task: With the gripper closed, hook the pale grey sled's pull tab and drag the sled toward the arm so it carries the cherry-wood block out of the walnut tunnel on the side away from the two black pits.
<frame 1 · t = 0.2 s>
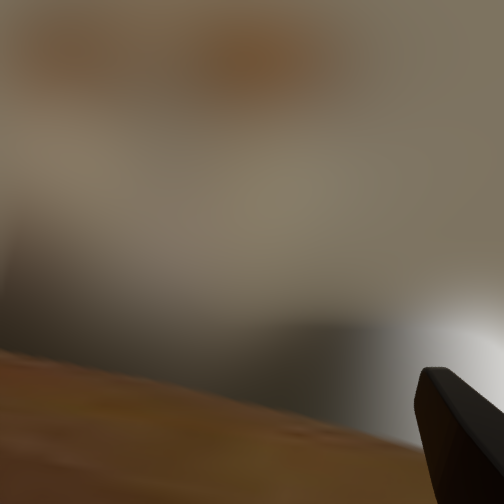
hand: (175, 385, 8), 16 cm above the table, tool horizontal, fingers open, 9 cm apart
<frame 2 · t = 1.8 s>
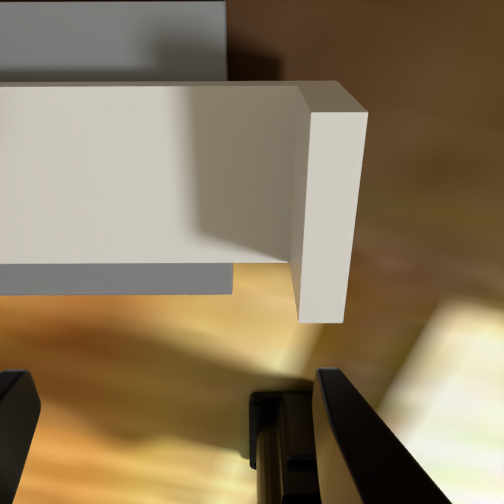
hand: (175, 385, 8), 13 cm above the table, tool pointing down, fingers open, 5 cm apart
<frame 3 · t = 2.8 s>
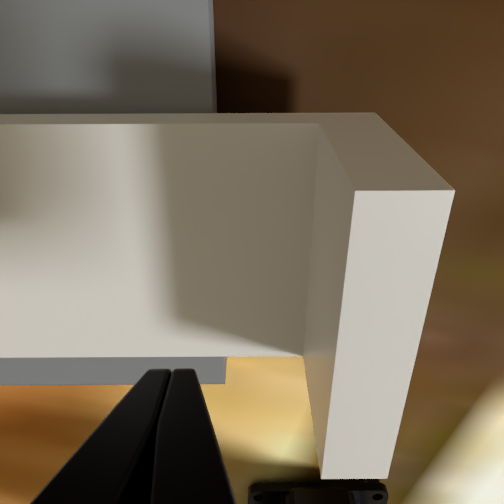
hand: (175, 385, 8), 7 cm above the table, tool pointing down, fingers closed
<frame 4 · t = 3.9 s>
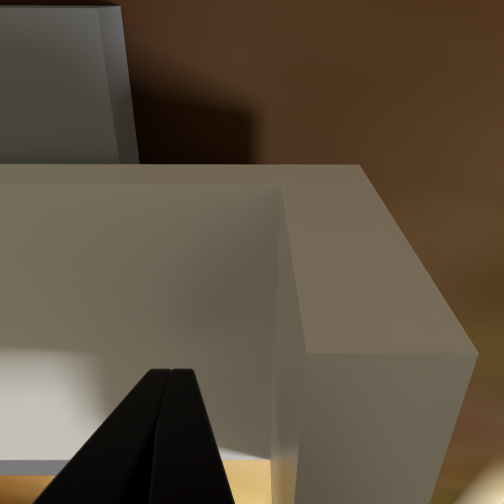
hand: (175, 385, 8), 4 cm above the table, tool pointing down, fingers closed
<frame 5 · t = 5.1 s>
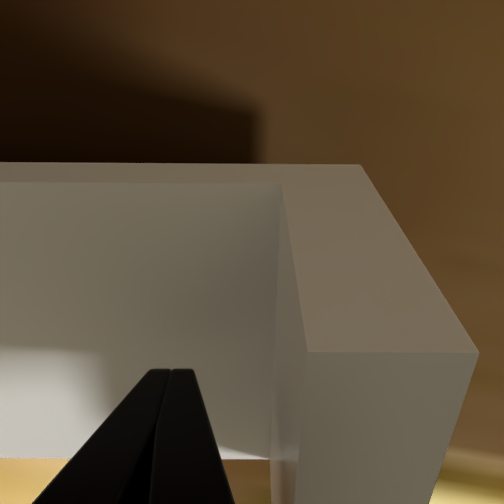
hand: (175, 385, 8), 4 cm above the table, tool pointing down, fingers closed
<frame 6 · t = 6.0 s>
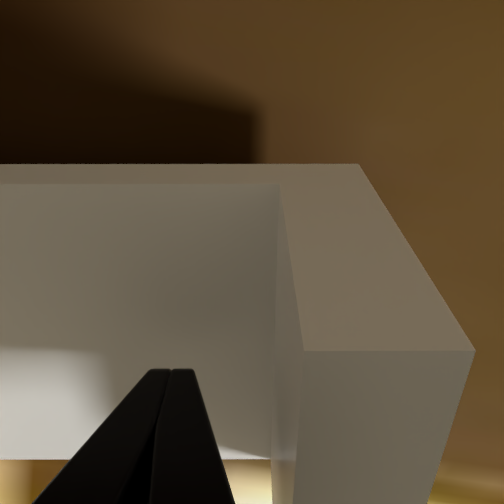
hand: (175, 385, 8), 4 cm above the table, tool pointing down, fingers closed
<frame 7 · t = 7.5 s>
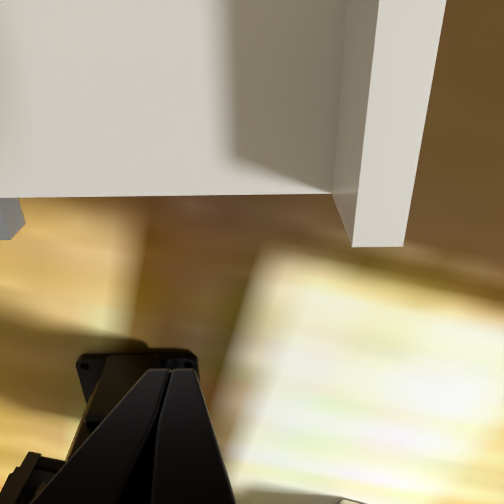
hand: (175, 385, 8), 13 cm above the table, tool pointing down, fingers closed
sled: (3, 111, 14), point 4 cm above the table, slide at -10.8 cm, touching block
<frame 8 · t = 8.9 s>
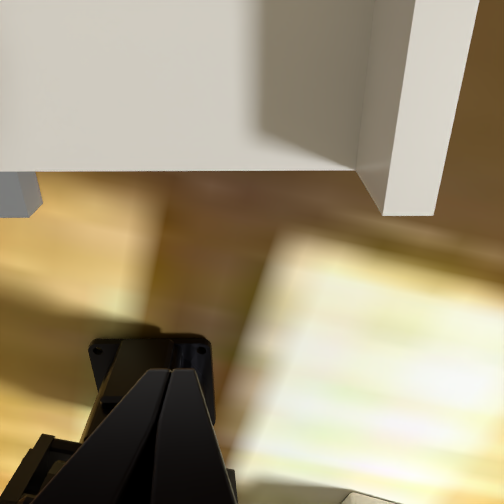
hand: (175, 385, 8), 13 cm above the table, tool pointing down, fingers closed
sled: (34, 78, 14), point 4 cm above the table, slide at -10.8 cm, touching block
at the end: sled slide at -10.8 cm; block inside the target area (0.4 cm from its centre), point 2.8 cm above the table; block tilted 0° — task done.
